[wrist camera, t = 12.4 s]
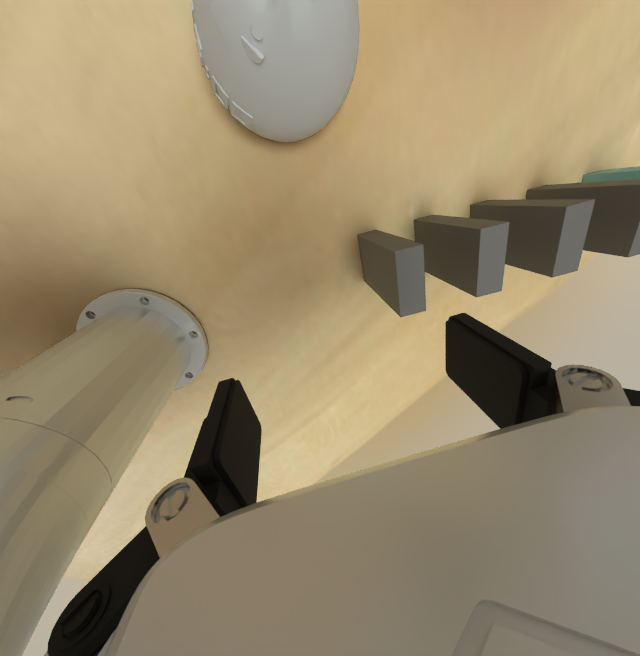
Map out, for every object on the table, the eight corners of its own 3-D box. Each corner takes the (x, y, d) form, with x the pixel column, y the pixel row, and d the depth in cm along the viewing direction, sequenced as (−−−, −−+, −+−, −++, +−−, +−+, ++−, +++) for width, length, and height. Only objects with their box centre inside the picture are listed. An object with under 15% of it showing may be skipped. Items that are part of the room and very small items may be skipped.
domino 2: (416, 267, 28) (476, 297, 19) (413, 219, 26) (480, 229, 17) (433, 262, 28) (501, 290, 19) (432, 214, 26) (509, 221, 17)
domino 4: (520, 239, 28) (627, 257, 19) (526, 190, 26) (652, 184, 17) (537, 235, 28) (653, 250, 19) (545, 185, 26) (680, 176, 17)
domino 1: (364, 281, 28) (400, 317, 19) (357, 234, 26) (394, 251, 17) (381, 276, 28) (425, 310, 19) (376, 229, 26) (423, 244, 17)
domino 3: (468, 253, 28) (552, 277, 19) (470, 204, 26) (566, 206, 17) (485, 248, 28) (577, 270, 19) (489, 200, 26) (595, 199, 17)
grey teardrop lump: (178, 19, 18) (20, -249, 7) (309, -70, 17) (350, -535, 6) (258, 173, 23) (233, 147, 12) (365, 111, 22) (443, 21, 11)
